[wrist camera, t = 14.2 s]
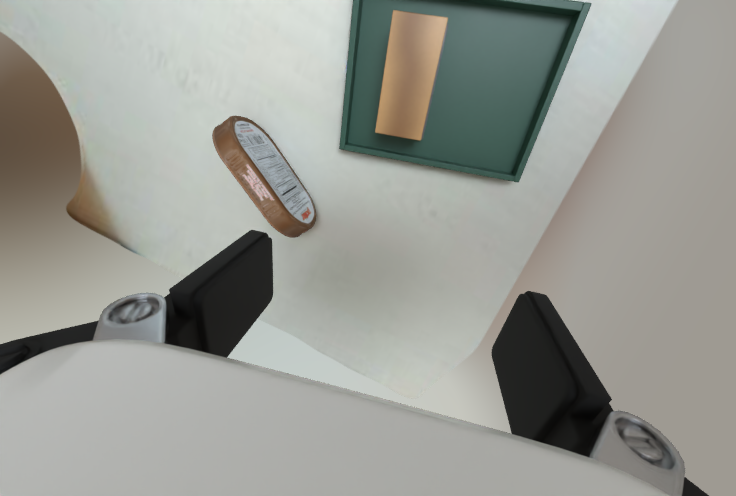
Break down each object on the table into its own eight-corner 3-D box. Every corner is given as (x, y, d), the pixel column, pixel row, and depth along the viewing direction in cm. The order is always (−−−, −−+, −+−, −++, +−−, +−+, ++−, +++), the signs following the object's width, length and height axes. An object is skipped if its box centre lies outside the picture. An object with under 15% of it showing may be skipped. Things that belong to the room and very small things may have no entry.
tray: (580, 10, 25) (592, 2, 23) (513, 178, 32) (518, 182, 31) (360, -19, 27) (355, -28, 25) (343, 146, 34) (339, 149, 32)
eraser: (447, 27, 27) (451, 14, 23) (422, 138, 32) (422, 143, 28) (396, 20, 27) (391, 6, 23) (379, 130, 32) (372, 134, 28)
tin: (240, 124, 35) (191, 130, 28) (257, 109, 34) (211, 111, 27) (310, 223, 40) (284, 250, 33) (327, 213, 39) (304, 239, 31)
